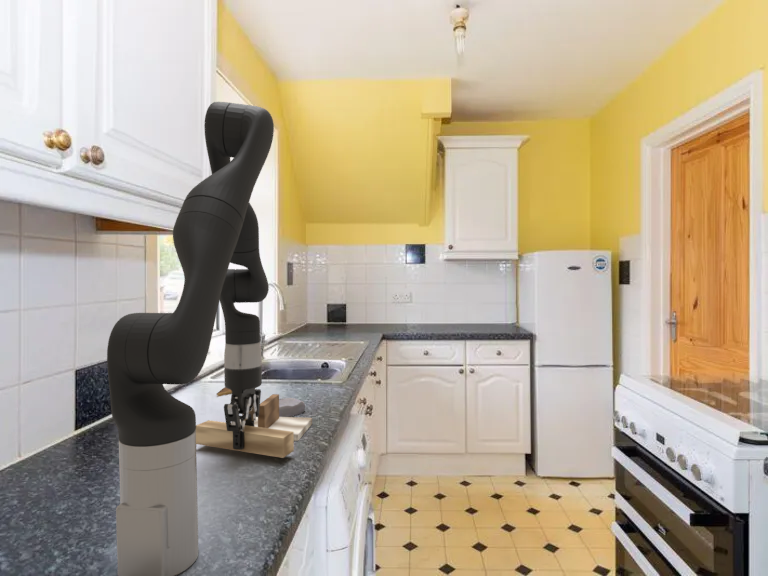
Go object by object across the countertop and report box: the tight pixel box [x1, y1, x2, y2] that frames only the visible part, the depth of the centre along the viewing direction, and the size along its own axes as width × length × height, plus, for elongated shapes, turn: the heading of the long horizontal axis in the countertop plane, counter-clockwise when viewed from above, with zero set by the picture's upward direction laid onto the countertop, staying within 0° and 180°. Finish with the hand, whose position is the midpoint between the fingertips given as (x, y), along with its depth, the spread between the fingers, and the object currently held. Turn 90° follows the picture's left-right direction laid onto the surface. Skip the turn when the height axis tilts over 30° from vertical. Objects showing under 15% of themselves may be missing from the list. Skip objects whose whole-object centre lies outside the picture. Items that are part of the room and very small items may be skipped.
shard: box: [216, 386, 232, 397], centre depth 151 cm, size 11×8×2 cm
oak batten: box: [196, 419, 295, 459], centre depth 100 cm, size 4×22×4 cm, turn 69°
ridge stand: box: [240, 393, 313, 442], centre depth 114 cm, size 12×18×8 cm, turn 83°
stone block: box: [279, 397, 306, 417], centre depth 128 cm, size 12×5×10 cm
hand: (244, 443), depth 100 cm, fingers closed on oak batten, 4 cm apart
